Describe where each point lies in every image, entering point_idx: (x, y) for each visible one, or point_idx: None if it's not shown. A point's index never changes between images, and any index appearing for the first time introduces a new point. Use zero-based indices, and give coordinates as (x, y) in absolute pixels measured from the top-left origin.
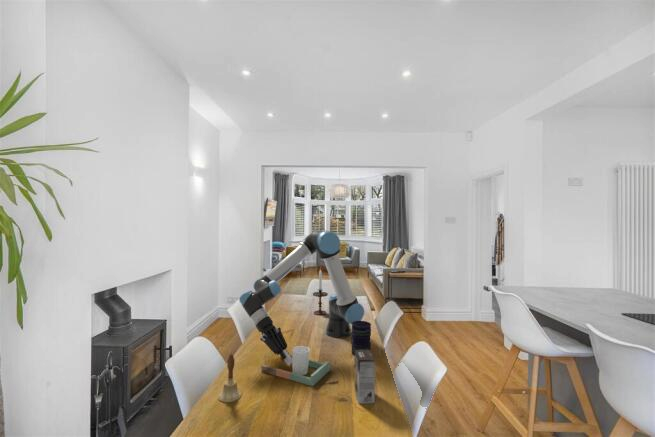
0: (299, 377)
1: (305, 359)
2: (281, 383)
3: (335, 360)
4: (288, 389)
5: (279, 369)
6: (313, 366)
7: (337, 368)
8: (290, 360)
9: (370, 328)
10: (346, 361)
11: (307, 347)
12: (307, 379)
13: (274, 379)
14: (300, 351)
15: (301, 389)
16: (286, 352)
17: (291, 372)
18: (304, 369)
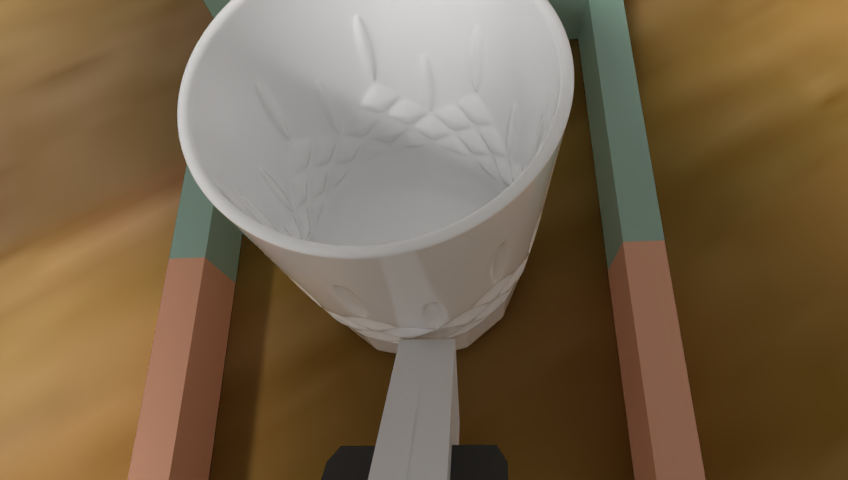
0: (638, 114)
1: (453, 41)
2: (784, 302)
3: (14, 94)
4: (822, 160)
5: (666, 452)
6: None
7: (181, 6)
8: (447, 362)
9: None
10: (13, 8)
11: (215, 29)
12: (622, 25)
13: (775, 450)
14: (257, 218)
15: (724, 61)
16: (400, 474)
17: (624, 239)
18: (457, 149)
